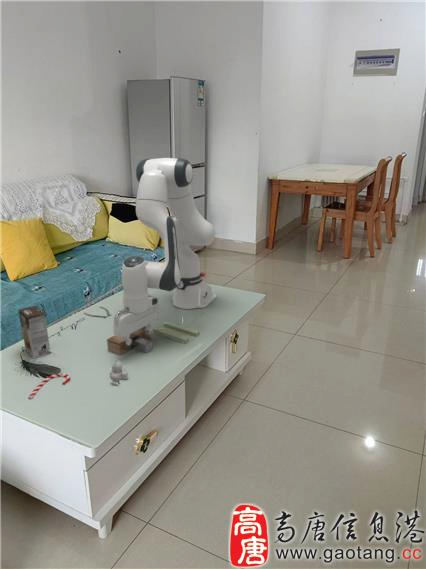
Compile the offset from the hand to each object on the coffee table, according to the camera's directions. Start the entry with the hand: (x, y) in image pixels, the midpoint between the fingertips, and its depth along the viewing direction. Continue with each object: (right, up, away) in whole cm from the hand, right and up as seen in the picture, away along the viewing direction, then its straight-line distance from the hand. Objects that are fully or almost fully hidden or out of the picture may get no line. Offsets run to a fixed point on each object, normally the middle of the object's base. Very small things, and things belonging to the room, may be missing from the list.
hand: (138, 339), depth 157 cm
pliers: (-19, +6, +33) cm, 39 cm away
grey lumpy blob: (-3, -12, -16) cm, 20 cm away
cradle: (+13, -1, +12) cm, 18 cm away
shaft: (-2, -3, +3) cm, 5 cm away
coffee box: (-37, -5, +2) cm, 38 cm away
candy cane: (-25, -13, -19) cm, 34 cm away
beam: (-4, -4, +5) cm, 7 cm away
